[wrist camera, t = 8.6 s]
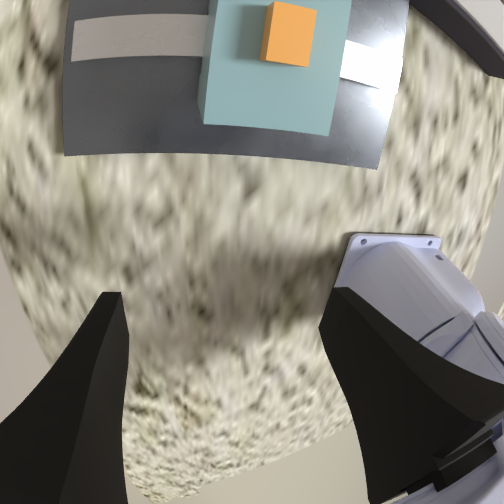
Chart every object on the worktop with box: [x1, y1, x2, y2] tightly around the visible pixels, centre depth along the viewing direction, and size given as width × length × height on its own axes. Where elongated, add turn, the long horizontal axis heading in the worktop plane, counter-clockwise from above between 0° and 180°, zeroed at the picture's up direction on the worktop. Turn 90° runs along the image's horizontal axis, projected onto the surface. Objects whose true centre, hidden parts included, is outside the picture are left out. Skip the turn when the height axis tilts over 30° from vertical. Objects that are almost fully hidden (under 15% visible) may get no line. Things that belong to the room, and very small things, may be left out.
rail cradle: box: [62, 0, 409, 170], centre depth 12 cm, size 18×12×2 cm, turn 83°
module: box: [197, 0, 352, 136], centre depth 10 cm, size 4×6×7 cm, turn 172°
